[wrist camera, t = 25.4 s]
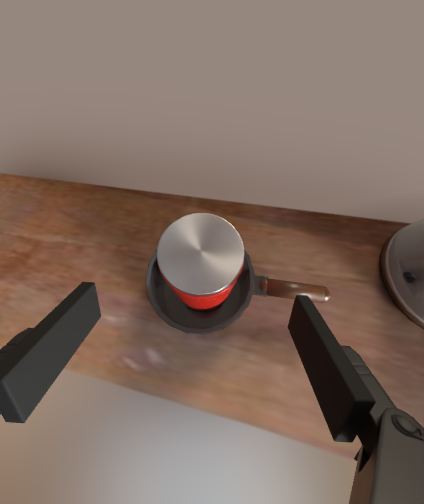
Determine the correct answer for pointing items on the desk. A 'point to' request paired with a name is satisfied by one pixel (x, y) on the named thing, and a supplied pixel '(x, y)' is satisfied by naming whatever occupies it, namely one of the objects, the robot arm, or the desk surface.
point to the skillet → (191, 319)
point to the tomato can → (201, 259)
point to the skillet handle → (289, 289)
